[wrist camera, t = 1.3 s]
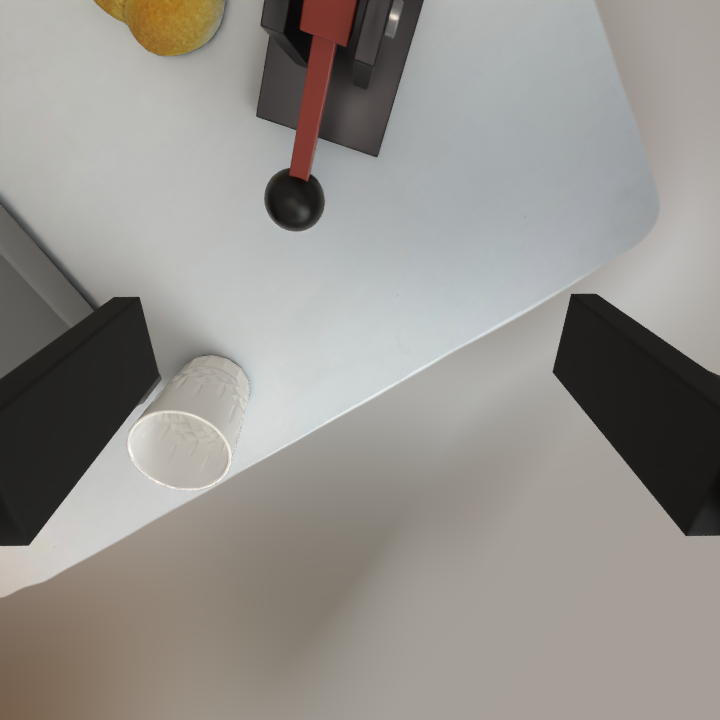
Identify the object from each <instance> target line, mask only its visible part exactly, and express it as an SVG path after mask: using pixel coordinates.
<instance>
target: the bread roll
mask: <svg viewBox="0 0 720 720" xmlns="http://www.w3.org/2000/svg"><path fill="white" fill-rule="evenodd" d="M94 1H95V2H96V3H97V5H99V6H100V7H101V8H102V9H103V10H104V11H105V12H107V13H108V14H110V15H111V16H113V17H114V18H116V19H118V20H120V21H122V22H124V23H125V24H127V25H128V26H129V28H130V30H131V32H132V34H133V36H134V37H135V38H136V40H137V41H138V42H139V43H140V44H141V45H142V46H143V47H144V48H145V49H147V50H148V51H150V52H152V53H155V54H157V55H162V56H176V55H180V54H186V53H188V52H191V51H193V50H195V49H197V48H199V47H201V46H203V45H204V44H205V43H206V42H208V41H209V40H210V39H211V38H212V37H213V35H214V34H215V33H216V31H217V29H218V28H219V26H220V23H221V20H222V17H223V14H224V7H225V0H94Z"/></svg>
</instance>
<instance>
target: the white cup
mask: <svg viewBox="0 0 720 720" xmlns="http://www.w3.org/2000/svg"><path fill="white" fill-rule="evenodd" d="M249 396H250V387H249V380H248V378H247V377H246V375H245V373H244V372H243V370H242V369H241V368H240V367H239V366H238V365H236V364H235V363H233V362H232V361H230V360H229V359H227V358H222V357H218V356H214V355H208V356H202V357H196V358H195V359H193V360H192V361H190V362H189V363H188V364H186V365H185V366H184V367H183V368H182V369H181V371H180V372H179V373H178V374H177V375H176V376H175V377H174V378H173V379H172V380H171V381H170V382H169V383H168V384H167V386H166V387H165V388H164V389H163V390H162V391H161V392H160V393H159V394H158V396H157V397H156V398H155V399H154V400H153V402H152V403H151V404H150V405H149V406H148V408H147V409H146V410H145V411H144V412H143V414H142V415H141V416H140V417H139V418H138V420H137V421H136V422H135V423H134V424H133V425H132V427H131V429H130V430H129V433H128V436H127V450H128V454H129V456H130V458H131V460H132V462H133V463H134V465H135V466H136V467H137V469H138V470H139V471H140V472H141V473H143V474H144V475H145V476H146V477H148V478H149V479H151V480H152V481H154V482H156V483H158V484H160V485H163V486H166V487H169V488H173V489H178V490H199V489H203V488H207V487H209V486H212V485H214V484H216V483H217V482H219V481H220V480H221V479H222V478H223V477H224V476H225V475H226V473H227V472H228V470H229V468H230V465H231V461H232V458H233V455H234V451H235V448H236V445H237V441H238V438H239V435H240V432H241V428H242V424H243V420H244V416H245V411H246V405H247V402H248V399H249Z"/></svg>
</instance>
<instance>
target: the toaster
mask: <svg viewBox="0 0 720 720" xmlns="http://www.w3.org/2000/svg"><path fill="white" fill-rule="evenodd" d="M93 312H94V310H93V309H92V307H91V306H90V305H89V304H88V303H87V302H86V301H85V300H84V298H83V297H82V296H81V295H80V294H79V293H78V292H77V290H76V289H75V288H74V287H73V286H72V285H71V284H70V283H69V281H68V280H67V279H66V278H65V277H64V276H63V275H62V273H61V272H60V271H59V270H58V269H57V268H56V267H55V266H54V264H53V263H52V262H51V261H50V260H49V259H48V258H47V256H46V255H45V254H44V253H43V252H42V251H41V250H40V249H39V247H38V246H37V245H36V244H35V243H34V242H33V241H32V239H31V238H30V237H29V236H28V235H27V234H26V233H25V232H24V230H23V229H22V228H21V227H20V226H19V225H18V224H17V222H16V221H15V220H14V219H13V218H12V217H11V216H10V215H9V213H8V212H7V211H6V210H5V209H4V208H3V207H2V205H1V204H0V379H1V378H2V377H4V376H5V375H6V374H8V373H9V372H11V371H12V370H13V369H15V368H16V367H18V366H19V365H20V364H22V363H23V362H25V361H26V360H27V359H29V358H30V357H31V356H33V355H34V354H36V353H37V352H38V351H40V350H41V349H43V348H44V347H45V346H47V345H48V344H50V343H51V342H52V341H54V340H55V339H57V338H58V337H59V336H61V335H62V334H63V333H65V332H66V331H68V330H69V329H70V328H72V327H73V326H75V325H76V324H77V323H79V322H80V321H82V320H83V319H84V318H86V317H87V316H88V315H90V314H91V313H93ZM160 380H161V376H160V375H159V377H158V378H157V380H156V381H155V382H154V384H153V385H152V386H151V388H150V389H149V390H148V391H147V393H146V394H145V395H144V397H143V398H142V399H141V401H140V402H139V403H138V404H137V406H138V405H140V404H142V403H144V402H145V400H146V399H147V398H148V396H149V395H150V394H151V392H152V391H153V390H154V388H155V387H156V386H157V385H158V383H159V382H160Z"/></svg>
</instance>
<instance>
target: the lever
mask: <svg viewBox="0 0 720 720" xmlns="http://www.w3.org/2000/svg"><path fill="white" fill-rule="evenodd" d="M359 3H360V0H303V7H302V13H301V20H300V26H299V28H300V30H301V31H304V32H307V33H310V34H312V35H313V38H312V43H311V49H310V55H309V61H308V67H307V73H306V78H305V84H304V90H303V96H302V102H301V108H300V113H299V119H298V125H297V131H296V137H295V143H294V148H293V154H292V160H291V166H290V168H287V169H284V170H281V171H279V172H278V173H276V174H275V175H274V176H273V177H272V178H271V179H270V181H269V182H268V184H267V187H266V189H265V196H264V201H265V207H266V210H267V212H268V214H269V216H270V218H271V219H272V220H273V221H274V222H275V223H276V224H277V225H278V226H280V227H281V228H283V229H286V230H289V231H303V230H306V229H309V228H311V227H312V226H313V225H315V224H316V223H317V222H318V220H319V219H320V217H321V215H322V213H323V210H324V205H325V198H324V192H323V189H322V187H321V185H320V183H319V182H318V180H317V179H316V178H315V177H314V176H313V175H312V174H310V173H311V169H312V164H313V159H314V154H315V149H316V145H317V140H318V135H319V130H320V125H321V121H322V116H323V111H324V106H325V102H326V97H327V92H328V87H329V82H330V78H331V73H332V68H333V63H334V58H335V54H336V49H337V44H339V45H342V46H344V47H347V45H348V43H349V41H350V39H351V36H352V34H353V30H354V25H355V21H356V17H357V12H358V8H359Z"/></svg>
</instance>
